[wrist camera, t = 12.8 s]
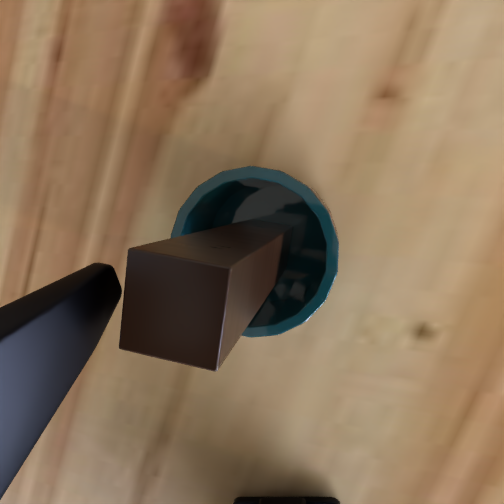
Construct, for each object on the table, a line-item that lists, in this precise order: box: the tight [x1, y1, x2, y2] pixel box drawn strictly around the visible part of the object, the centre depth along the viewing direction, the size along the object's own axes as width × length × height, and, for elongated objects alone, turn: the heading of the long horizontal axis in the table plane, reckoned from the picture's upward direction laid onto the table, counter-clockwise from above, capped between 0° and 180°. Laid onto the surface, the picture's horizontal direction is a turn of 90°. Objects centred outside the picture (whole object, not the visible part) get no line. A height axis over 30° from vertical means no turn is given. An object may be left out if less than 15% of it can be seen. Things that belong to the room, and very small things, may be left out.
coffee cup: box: [171, 166, 339, 337], centre depth 19 cm, size 7×8×5 cm
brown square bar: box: [119, 219, 293, 371], centre depth 15 cm, size 2×2×13 cm
